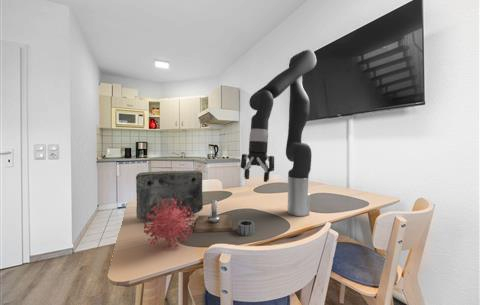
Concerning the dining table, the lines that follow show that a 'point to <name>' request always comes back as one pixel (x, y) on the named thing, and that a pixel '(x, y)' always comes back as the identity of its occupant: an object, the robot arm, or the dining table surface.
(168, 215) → the virus model
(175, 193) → the concrete block
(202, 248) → the dining table surface
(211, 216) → the post
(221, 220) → the board
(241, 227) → the ring
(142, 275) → the dining table surface
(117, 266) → the dining table surface
